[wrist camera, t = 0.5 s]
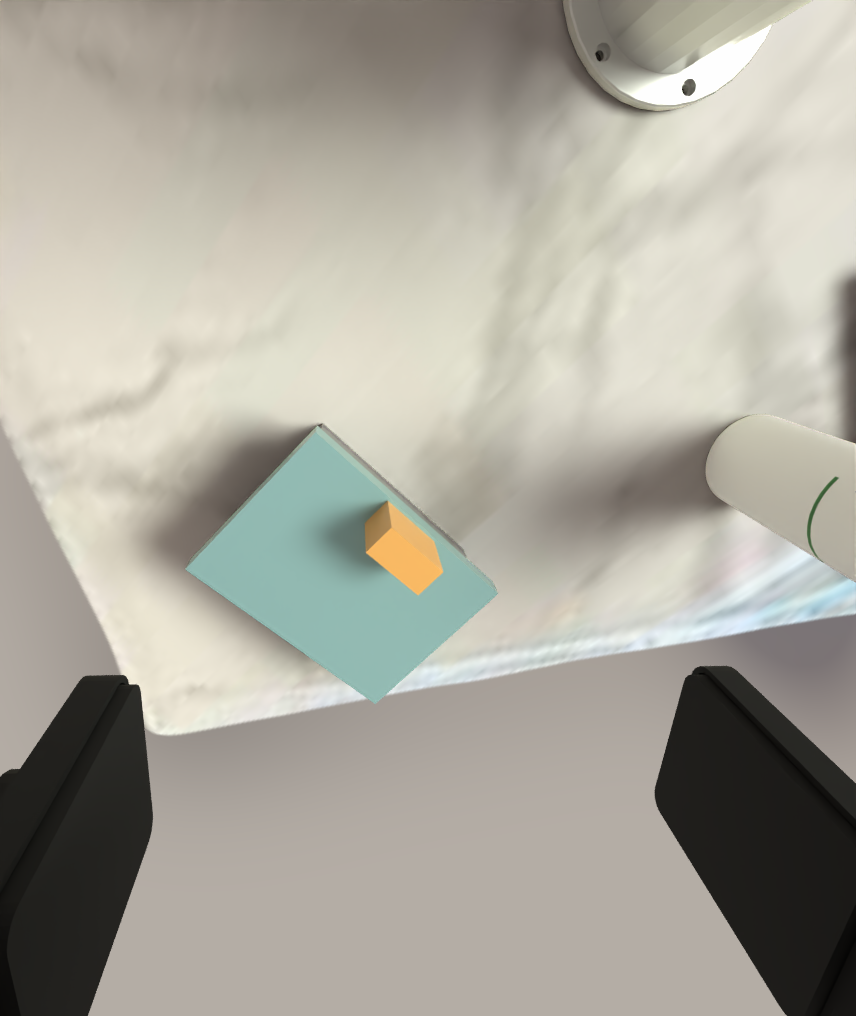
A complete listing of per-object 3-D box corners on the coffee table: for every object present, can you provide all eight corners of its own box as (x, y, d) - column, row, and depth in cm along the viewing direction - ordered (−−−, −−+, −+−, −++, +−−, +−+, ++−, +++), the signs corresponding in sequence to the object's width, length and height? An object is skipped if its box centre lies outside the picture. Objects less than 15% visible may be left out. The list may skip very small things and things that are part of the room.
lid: (317, 425, 34) (310, 452, 29) (492, 581, 39) (513, 628, 34) (191, 557, 36) (164, 604, 31) (374, 688, 41) (377, 747, 36)
